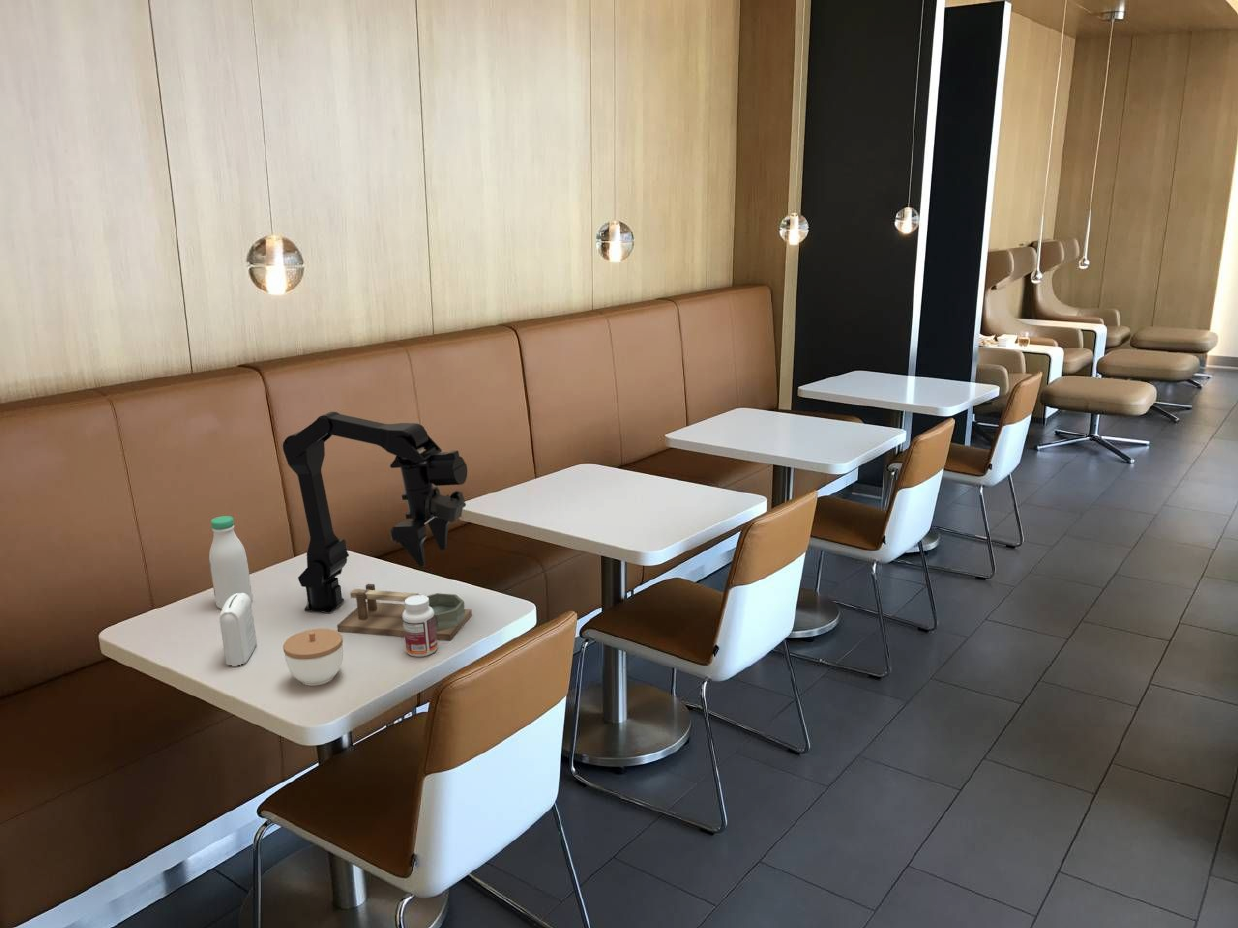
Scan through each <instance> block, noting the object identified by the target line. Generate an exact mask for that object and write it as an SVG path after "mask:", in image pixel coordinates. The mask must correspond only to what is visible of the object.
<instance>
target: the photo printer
mask: <svg viewBox="0 0 1238 928" xmlns="http://www.w3.org/2000/svg"><path fill="white" fill-rule="evenodd" d="M252 608H253V607H252V602H251V600H250V598H249V596H248V595H247V594H245V593H236V594H234V595H232V596H231V597H230V598H229V599H228V600H227V601H226V603H225V604H224V606H223V608H222V609H220V610H221V611H220V614H219V625H220V633H221V641H222V647H223V652H224V653H223V654H224V659H225V663H226V665H228V666H229V665H232V666H231V667H238V666H237V665H240V666H242V665H241V664H243V665H244V664H246V663H247V662H248V660H249V659H250V658H251V656H252V654H253V652H254V651H255V648H256V647H257V635H256V627H255V622H254V616H253V615H254V614H253V609H252Z"/></svg>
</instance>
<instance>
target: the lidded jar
mask: <svg viewBox="0 0 1238 928" xmlns="http://www.w3.org/2000/svg"><path fill="white" fill-rule="evenodd" d="M343 642H344V639H343V635H342V634H341V632H339V631H338V630H334V629H330V628H314V629H308V630H304V631H300V632H298V633H295V634H293V635H292V636H290V637H288V638H287V639H285V641H284V643H283V645H282V646H283V647H282V649H283V652H284V658H285V662H286V665H287V668H288V670H289V673H290V674H291V675H292V677H294V679H296V680H297V681H298V682H300V683H301V682H302V683H303V684H302V683H301V684H302V685H304V684H305V686H307V685H308V687H315V686H316V687H317V686H322V685H324V684H327V683H329V682H331V681H332V680H333V679H334V678H335V676H336V674H338V672H339V670H340V669H341V667H342V665H343V661H344V645H343Z"/></svg>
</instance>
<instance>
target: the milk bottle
mask: <svg viewBox="0 0 1238 928" xmlns="http://www.w3.org/2000/svg"><path fill="white" fill-rule="evenodd" d="M210 525H211V530H212V532H213V538H212V541H211V545H210V548H209V555H208V557H209V561H208V562H209V568H210V575H211V582H212V587H213V593H214V594H213V595H214V600H215V604H216V606H217V608H218V609H220V610H222V608H223V606H224V604H225V603H226V601H227V600H228V599H229V598H230V597H231V596H232V595H234V594H236V593H245V594H247V595H248V596H249V598H250V600H251V603H252V601H253V593H252V592H253V590H252V584H251V578H250V571H249V564H248V559H247V554H246V549H245V547H244V545H243V544H242V542H241V541H240V539H239V538H238V536H237V535H236V533H235V521H234V518H233V517H232V516H230V515H229V516H228V515H222V516H218V517H214V518H213V519H211V522H210Z"/></svg>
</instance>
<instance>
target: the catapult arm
mask: <svg viewBox="0 0 1238 928" xmlns="http://www.w3.org/2000/svg"><path fill="white" fill-rule="evenodd" d="M358 592H363V593H365V597H366V600H367V599H372V600H376V601H388V602H400V603H402V602H403V603H405V600H406V599H407V598H408V597H411V596H415V595H419V593H418V592H417V593H416V592H415V593H414V592H404V591H403V592H401V591H391V590H390V591H389V590H377V589H375V590H370V589H366V588H365V589H363V588H362V589H361V588H354V589H353V590H351V591H350V593H349V595H350V598H351V599H356V593H358ZM426 596H427V597H428V598H429V606H430V607H431V608H432V609H433V611H434V617H435V627H436V631H441V630H444V629H448V628H452V627H455V626H458V625H459V624H460V623H461V621H462V620H463V619H464V618H465V609H466V608H465V601H464V600H463V599H462V598H461V597H459V596H458V595H457V594H456V593H455V594H453V593H441V592H440V593H433V594H429V595H426Z"/></svg>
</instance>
